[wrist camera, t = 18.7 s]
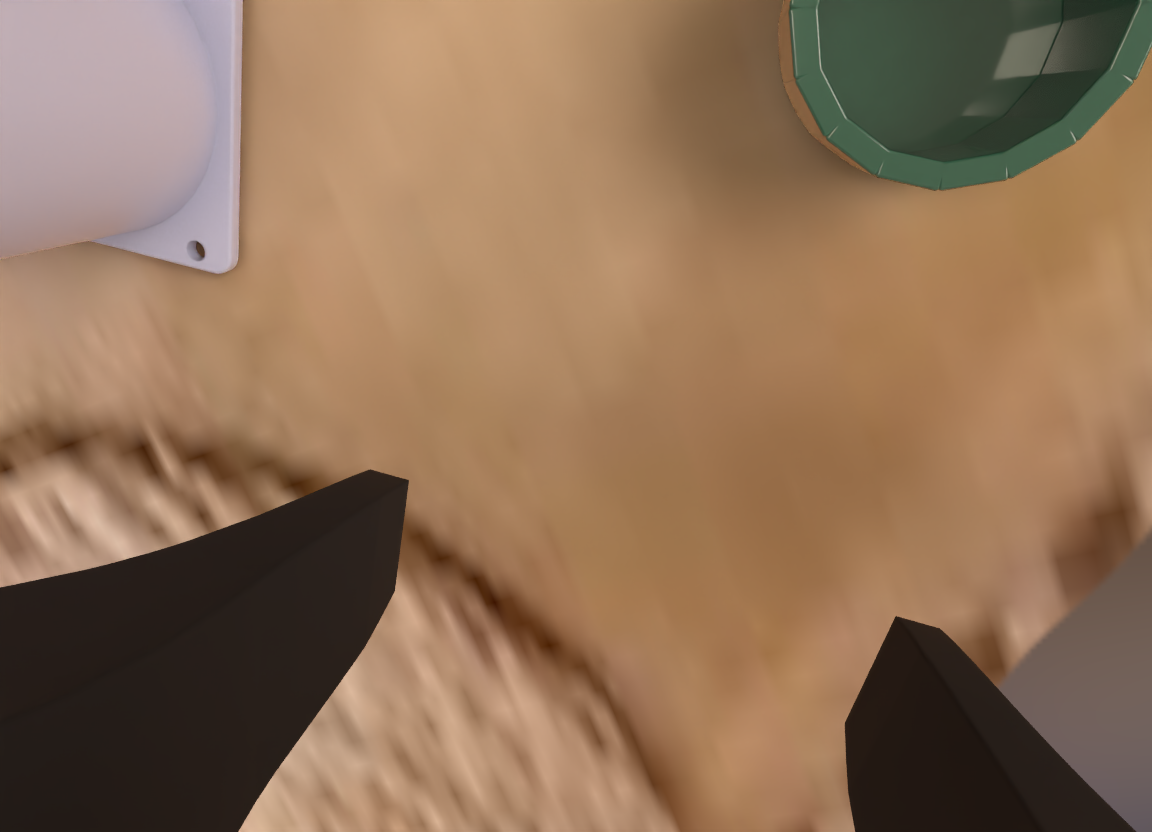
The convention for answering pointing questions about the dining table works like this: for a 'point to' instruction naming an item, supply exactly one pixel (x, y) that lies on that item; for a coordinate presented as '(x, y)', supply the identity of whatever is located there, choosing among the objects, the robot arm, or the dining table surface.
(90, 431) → the dining table surface
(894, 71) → the pen pot
